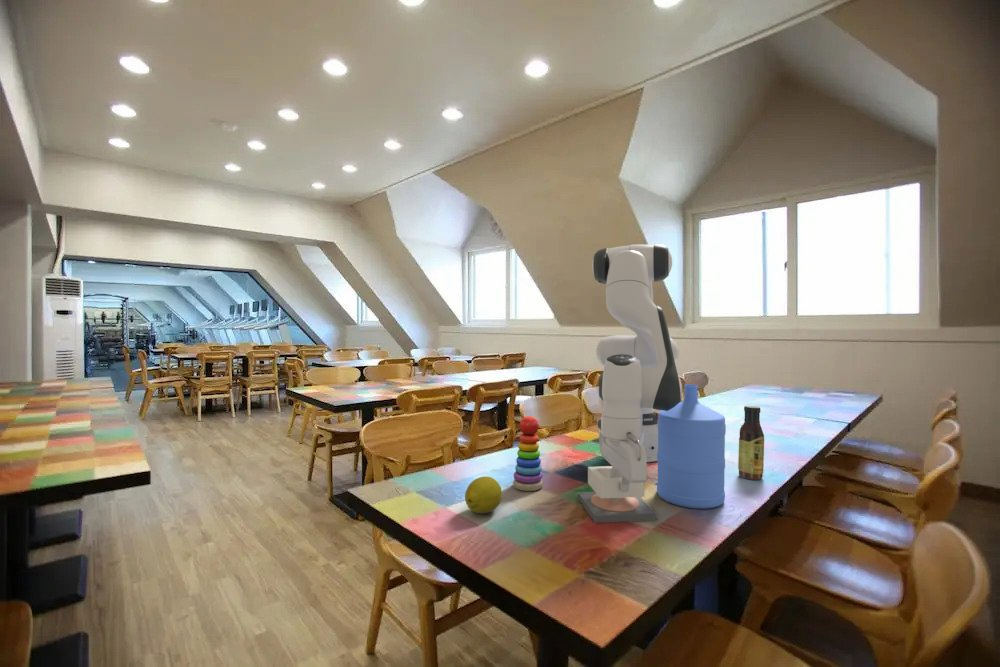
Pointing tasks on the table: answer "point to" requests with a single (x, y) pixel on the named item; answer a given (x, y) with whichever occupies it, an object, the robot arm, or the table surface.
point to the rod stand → (615, 507)
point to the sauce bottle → (751, 445)
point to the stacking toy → (528, 457)
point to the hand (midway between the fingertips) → (621, 488)
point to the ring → (611, 484)
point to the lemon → (483, 495)
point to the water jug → (691, 454)
